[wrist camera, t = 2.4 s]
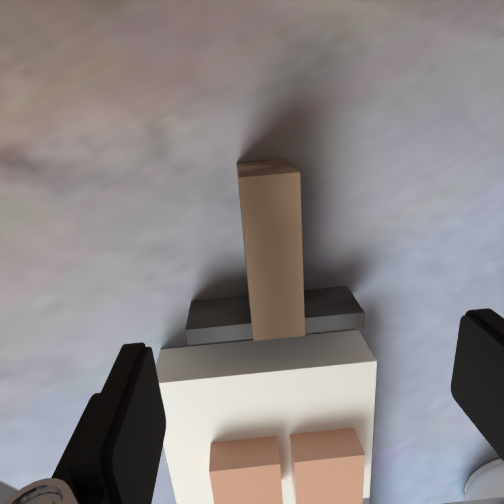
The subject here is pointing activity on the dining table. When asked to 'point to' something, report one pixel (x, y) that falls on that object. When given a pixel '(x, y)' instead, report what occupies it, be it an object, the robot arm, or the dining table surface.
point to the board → (262, 400)
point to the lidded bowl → (486, 482)
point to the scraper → (272, 270)
